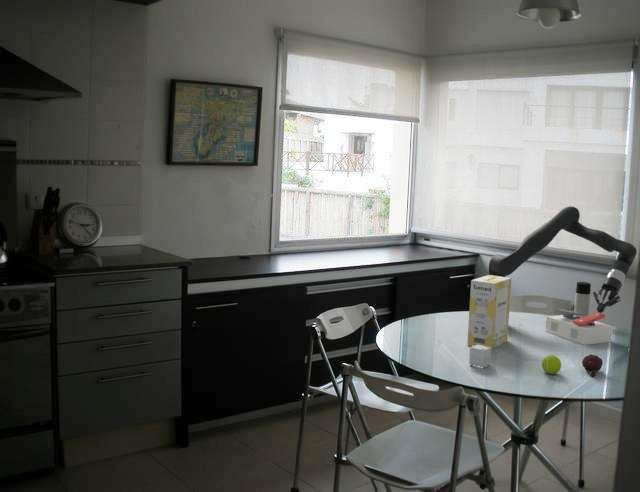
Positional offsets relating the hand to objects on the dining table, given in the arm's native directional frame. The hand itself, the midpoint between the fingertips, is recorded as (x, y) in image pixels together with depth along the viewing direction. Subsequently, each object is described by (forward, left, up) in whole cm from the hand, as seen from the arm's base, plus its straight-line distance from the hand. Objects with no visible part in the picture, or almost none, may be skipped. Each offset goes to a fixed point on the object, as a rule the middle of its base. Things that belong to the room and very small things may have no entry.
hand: (599, 311), depth 321 cm
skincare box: (-75, -16, -13) cm, 78 cm away
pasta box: (-52, +10, -13) cm, 55 cm away
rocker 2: (-5, 0, -3) cm, 6 cm away
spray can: (+15, +26, -13) cm, 32 cm away
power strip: (-5, +6, -13) cm, 15 cm away
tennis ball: (-55, -33, -13) cm, 66 cm away
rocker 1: (-5, +13, -3) cm, 14 cm away
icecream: (-39, -36, -13) cm, 55 cm away
